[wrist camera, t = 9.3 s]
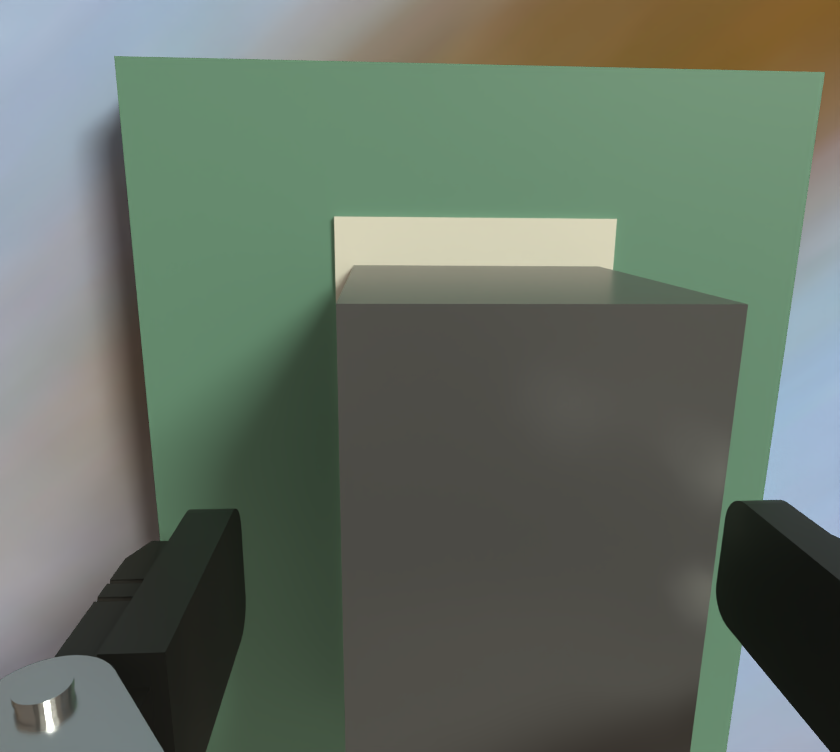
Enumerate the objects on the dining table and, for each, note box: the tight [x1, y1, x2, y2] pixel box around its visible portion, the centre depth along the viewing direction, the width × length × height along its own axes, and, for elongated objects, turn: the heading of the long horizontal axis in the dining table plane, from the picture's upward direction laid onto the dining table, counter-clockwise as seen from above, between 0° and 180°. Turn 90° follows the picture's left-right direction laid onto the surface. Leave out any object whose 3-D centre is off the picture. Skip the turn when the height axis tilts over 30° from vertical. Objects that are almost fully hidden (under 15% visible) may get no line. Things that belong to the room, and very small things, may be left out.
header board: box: [114, 56, 825, 752], centre depth 12 cm, size 16×12×5 cm
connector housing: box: [336, 265, 748, 752], centre depth 11 cm, size 9×4×5 cm, turn 0°
